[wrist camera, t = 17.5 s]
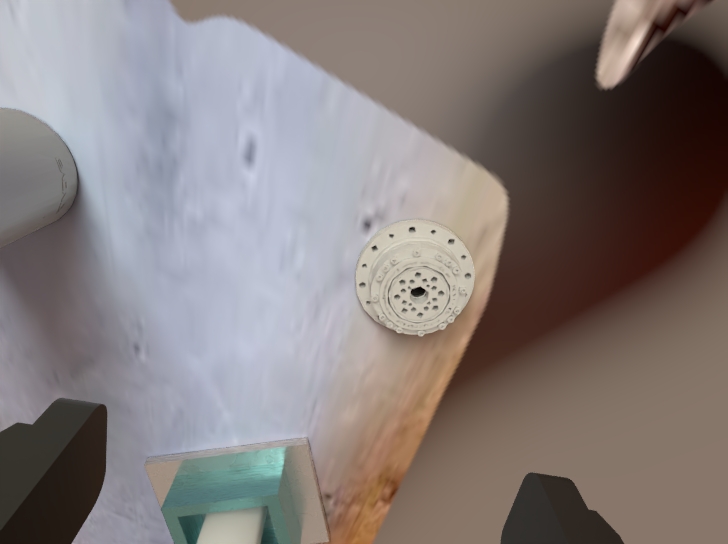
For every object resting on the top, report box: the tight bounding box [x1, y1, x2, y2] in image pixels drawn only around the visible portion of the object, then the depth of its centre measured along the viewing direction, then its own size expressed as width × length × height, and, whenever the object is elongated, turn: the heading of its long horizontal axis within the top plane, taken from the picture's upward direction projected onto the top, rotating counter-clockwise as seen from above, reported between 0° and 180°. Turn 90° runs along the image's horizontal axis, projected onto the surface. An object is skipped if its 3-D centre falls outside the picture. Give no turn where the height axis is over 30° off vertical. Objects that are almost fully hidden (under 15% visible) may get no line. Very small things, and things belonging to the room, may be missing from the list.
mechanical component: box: [355, 219, 475, 336], centre depth 41 cm, size 10×4×10 cm
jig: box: [144, 437, 330, 544], centre depth 49 cm, size 16×13×5 cm
